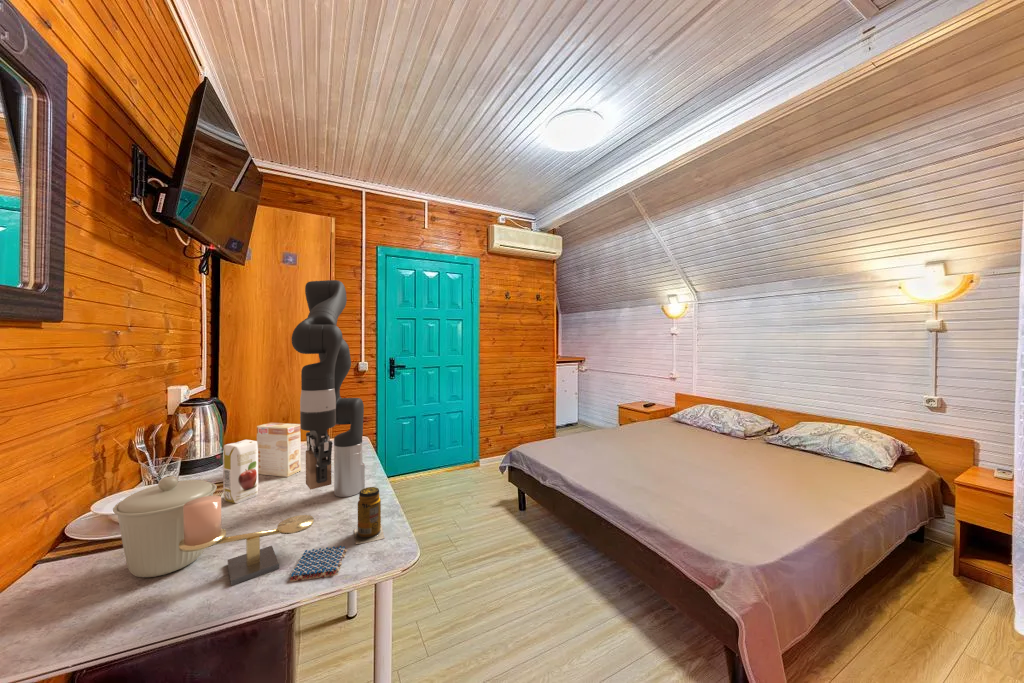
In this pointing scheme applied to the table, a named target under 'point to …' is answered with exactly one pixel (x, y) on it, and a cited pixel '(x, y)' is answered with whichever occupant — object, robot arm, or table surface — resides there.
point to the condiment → (369, 516)
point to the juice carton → (240, 471)
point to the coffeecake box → (279, 449)
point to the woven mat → (318, 563)
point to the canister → (158, 526)
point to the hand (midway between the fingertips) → (318, 478)
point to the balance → (254, 549)
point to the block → (312, 472)
